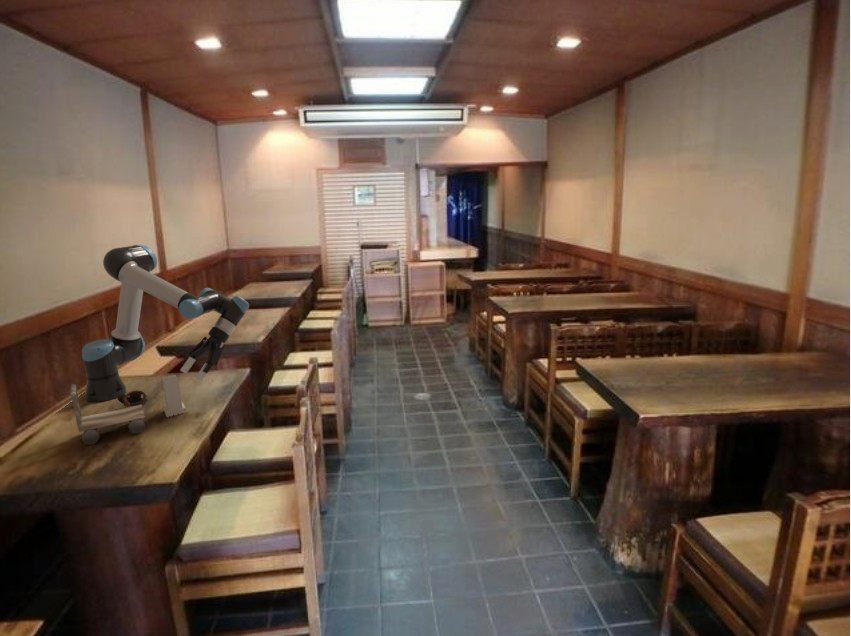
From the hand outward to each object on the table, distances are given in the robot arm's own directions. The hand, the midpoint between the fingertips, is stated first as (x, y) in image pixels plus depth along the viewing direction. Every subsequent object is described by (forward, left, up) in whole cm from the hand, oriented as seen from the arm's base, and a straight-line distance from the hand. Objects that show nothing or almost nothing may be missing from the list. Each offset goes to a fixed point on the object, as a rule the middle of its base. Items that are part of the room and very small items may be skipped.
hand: (190, 375), depth 206 cm
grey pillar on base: (+1, -7, -13) cm, 15 cm away
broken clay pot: (-14, -21, -13) cm, 28 cm away
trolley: (+8, -28, -13) cm, 32 cm away
